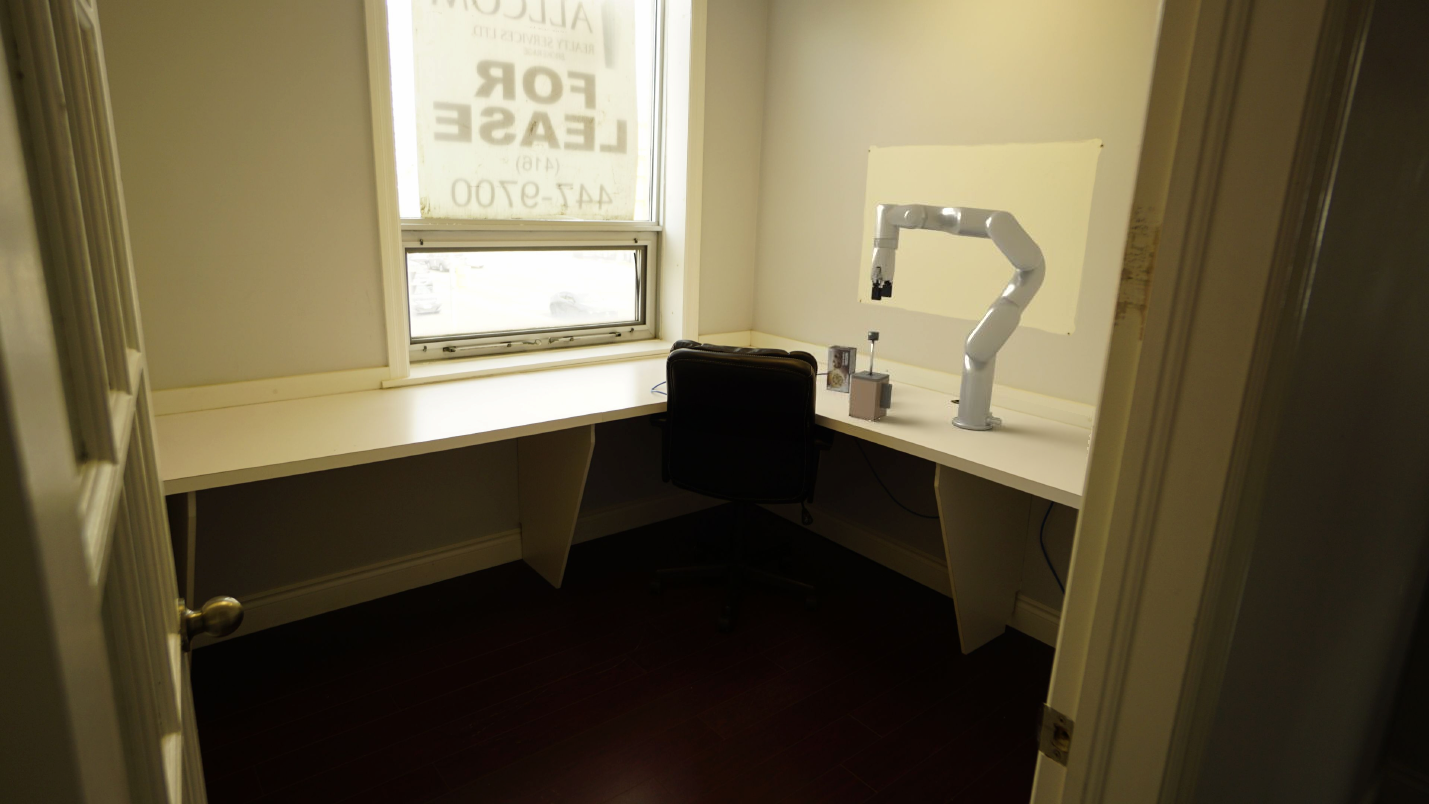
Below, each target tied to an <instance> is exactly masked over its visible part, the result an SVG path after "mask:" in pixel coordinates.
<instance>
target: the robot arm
mask: <svg viewBox="0 0 1429 804" xmlns="http://www.w3.org/2000/svg"><path fill="white" fill-rule="evenodd" d="M874 225H875V227H874V237H873V239H874V240H873V255H872V260H871V268H870V276H869V277H870V280H871V282H872V284H871V293H870V294H871V297H870V298H871V300H872V301H880V302H881V301H882V298H892V295H893V294H892V293H893V284H894V281H893V280H894V277H895V269H896V251H897V250H898V249H899V239H900V229H907V230H917V229H919V230H929V231H938V232H943V233H947V234H951V235H953V236H959V237H969V238H977V239H978V238H979V239H988V240H992V242H993V243H994V244H995V245H996V247H997V248H998V249H999V251H1001V253H1002V255H1004V256H1005V257H1006V259H1007V260H1008V261H1009V263H1010V264H1011V265H1012V266H1013V267H1014V268H1015V270H1014V274H1013V276H1012V277H1011V279H1010V280H1009V282H1008V283H1007V284H1006V286H1005V288H1004V289H1003V290H1002V291H1001V293H1000V294H999V295H998V297H997V298H996V299H995V300H994V301H993V302H992V303H991V304H990V306H989V307H988V309H987V312H986V313H985V315H984V316H983V317H982V319H981V320H980V322H979V323H978V324H976V325H977V326H976V327H974V328H972V329H971V330H970V331H969V332H968V333H967V335H966V336H965V340H964V354H963V362H962V363H963V364H962V373H961V382H960V392H959V401H958V409H957V416H955V417H953V418H952V419H951V423H952V424H953V426H956V427H958V428H961V429H967V430H974V431H983V430H984V431H985V430H990V429H992V428H993V427H994V425H995V426H1002V423H1003V419H1001V417H995V416H993V411H991V401H992V394H993V385H994V379H995V370H996V361H997V354H998V353H999V352H1000V350H1001V349H1002V348H1003V346H1004V345H1005V344H1006V342H1008V340H1009V339H1010V337H1011V336H1012V335H1013V333H1014V332H1016V329H1017V328H1018V326H1019V324H1020V323H1021V322H1020V321H1021V316H1022V314H1023V312H1024V311H1025V310H1026V308H1027V307H1028V306H1029V305H1030V303H1031V301H1032V300H1034V297H1035V296H1036V295H1037V293H1038V292H1039V290H1040V289H1041V287H1042V285H1043V283H1044V280H1045V276H1046V267H1047V266H1046V260H1045V257H1044V255H1043V252H1042V249H1041V247H1040V246H1039V245H1038V243H1036V242H1035V240H1034V239H1033V238H1032V237H1031V236H1030V235H1029V233H1027V232H1026V231H1027V230H1025V229H1024V227H1023V226H1022V225H1021V224H1020V223H1019V221H1018V219H1016V217H1015V216H1014V214H1012V213H1011V212H1009V211H1005V210H997V209H987V208H979V207H978V208H974V207H966V206H940V205H939V206H938V205H927V204H918V203H913V204H912V203H911V204H901V205H899V204H896V203H895V204H893V203H882V204H878V206H877V208H876V216H875V224H874Z"/></svg>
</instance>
